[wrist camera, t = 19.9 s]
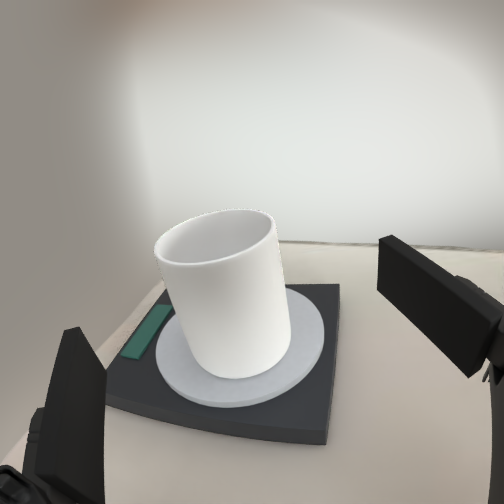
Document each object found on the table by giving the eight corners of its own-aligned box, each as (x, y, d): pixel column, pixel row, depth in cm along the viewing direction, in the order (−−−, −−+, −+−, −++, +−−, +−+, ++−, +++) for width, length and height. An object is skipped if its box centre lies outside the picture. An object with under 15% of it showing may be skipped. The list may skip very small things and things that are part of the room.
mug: (174, 314, 31) (140, 220, 26) (247, 284, 34) (227, 191, 29) (214, 399, 21) (166, 281, 16) (312, 352, 24) (300, 231, 19)
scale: (104, 404, 25) (88, 382, 24) (175, 299, 39) (167, 278, 38) (325, 445, 19) (326, 424, 18) (339, 301, 33) (339, 277, 32)
